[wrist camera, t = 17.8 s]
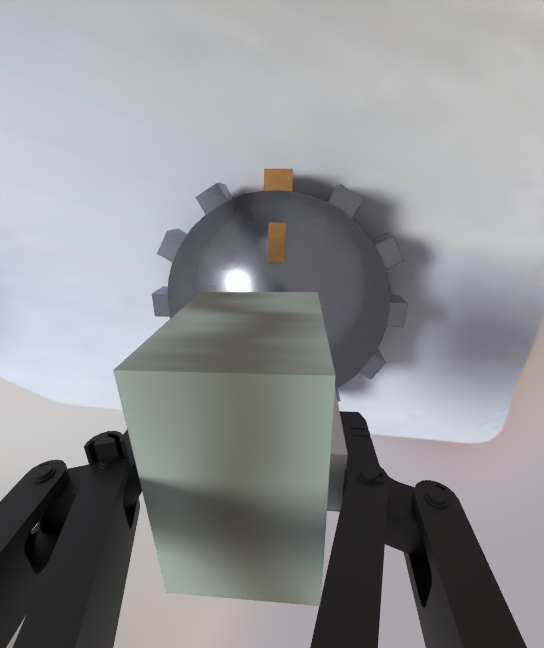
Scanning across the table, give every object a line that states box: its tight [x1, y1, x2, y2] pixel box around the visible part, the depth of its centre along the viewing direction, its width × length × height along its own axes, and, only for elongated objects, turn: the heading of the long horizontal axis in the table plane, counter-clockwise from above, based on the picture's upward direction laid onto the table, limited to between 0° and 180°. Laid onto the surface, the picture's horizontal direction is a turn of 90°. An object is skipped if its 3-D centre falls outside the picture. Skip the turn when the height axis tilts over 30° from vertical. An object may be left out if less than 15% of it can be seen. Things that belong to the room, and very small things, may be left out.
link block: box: [114, 292, 335, 606], centre depth 14 cm, size 6×10×8 cm, turn 1°
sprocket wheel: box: [152, 169, 408, 401], centre depth 27 cm, size 23×23×7 cm
